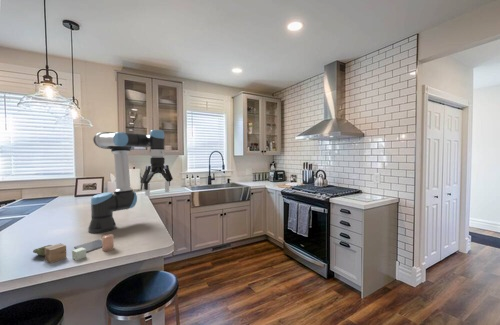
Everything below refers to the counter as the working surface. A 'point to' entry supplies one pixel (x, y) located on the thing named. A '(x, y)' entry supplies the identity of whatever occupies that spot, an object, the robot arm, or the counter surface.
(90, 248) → the coaster
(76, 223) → the counter surface
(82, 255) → the sage block
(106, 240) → the pink glossy pebble
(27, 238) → the counter surface
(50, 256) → the walnut cube
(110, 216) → the robot arm
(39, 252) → the seashell
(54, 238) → the counter surface
